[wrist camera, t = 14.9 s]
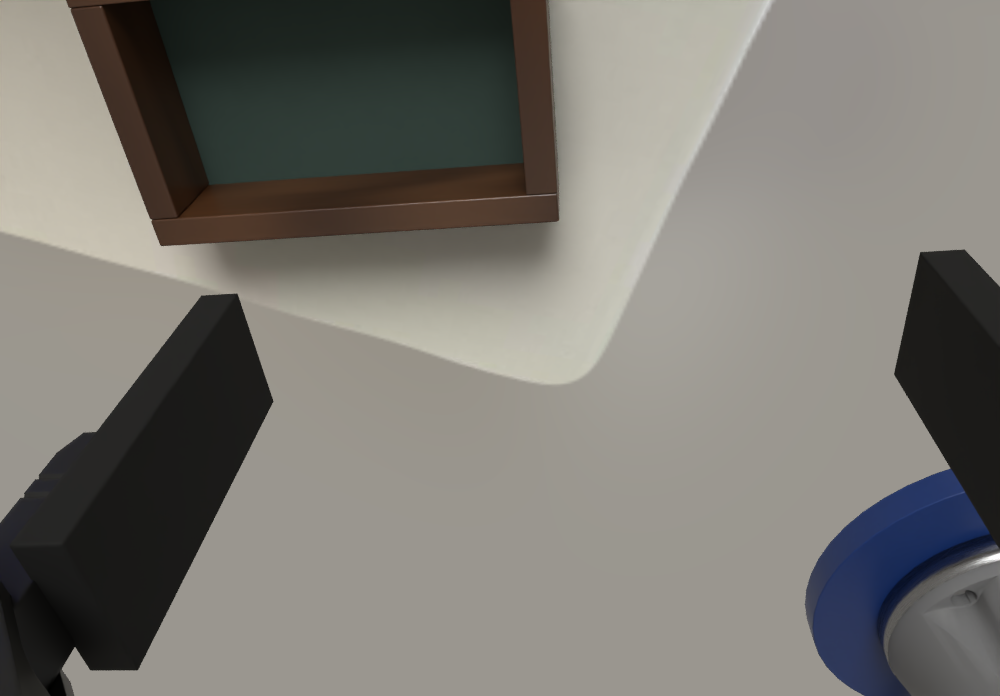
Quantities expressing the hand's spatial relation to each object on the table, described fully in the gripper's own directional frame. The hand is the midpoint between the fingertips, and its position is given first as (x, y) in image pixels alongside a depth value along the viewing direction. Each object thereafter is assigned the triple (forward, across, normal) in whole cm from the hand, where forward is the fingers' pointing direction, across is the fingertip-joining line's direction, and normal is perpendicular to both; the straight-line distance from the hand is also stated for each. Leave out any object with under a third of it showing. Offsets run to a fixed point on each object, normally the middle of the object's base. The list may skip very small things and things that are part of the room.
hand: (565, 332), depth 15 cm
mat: (+19, -9, +1) cm, 21 cm away
